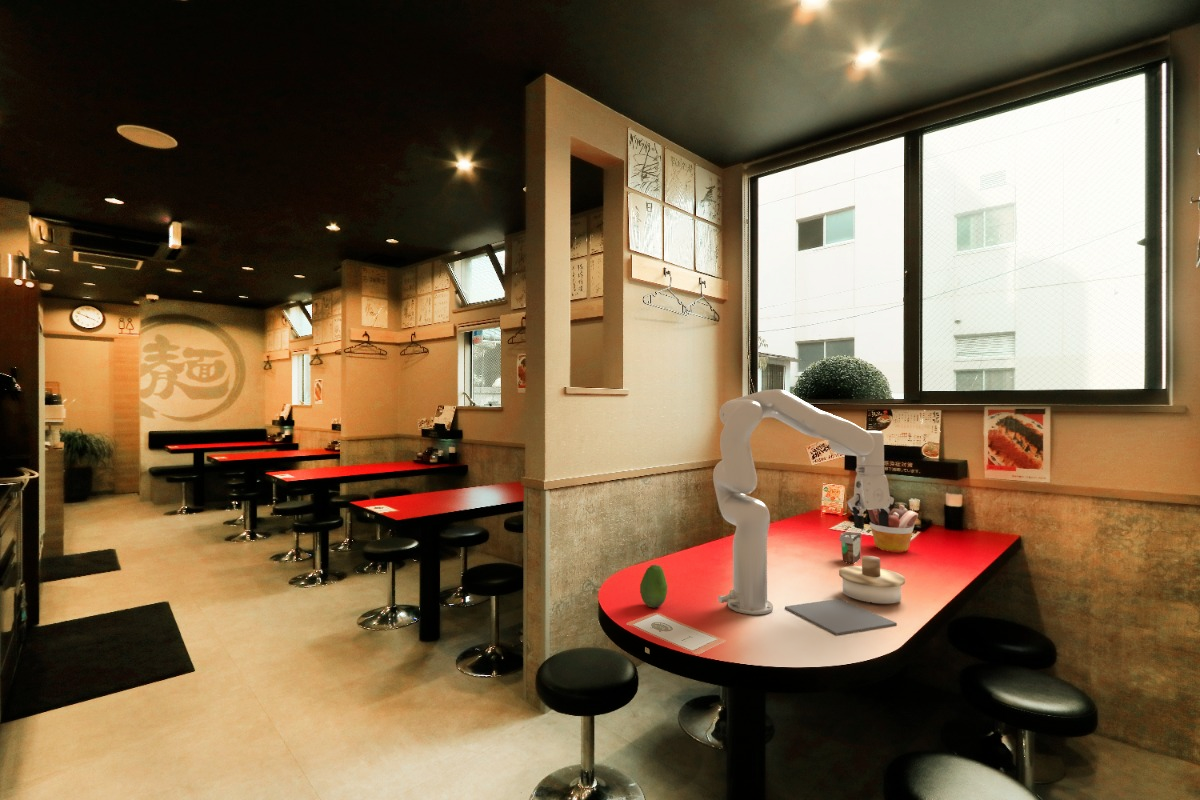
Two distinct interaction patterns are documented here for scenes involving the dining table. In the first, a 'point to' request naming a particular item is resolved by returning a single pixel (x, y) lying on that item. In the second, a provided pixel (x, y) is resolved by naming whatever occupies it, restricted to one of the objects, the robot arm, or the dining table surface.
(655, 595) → the avocado
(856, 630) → the rubber mat
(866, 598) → the ceramic bowl
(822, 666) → the dining table surface
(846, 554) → the food container
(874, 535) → the bucket of meat
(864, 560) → the bamboo lid
